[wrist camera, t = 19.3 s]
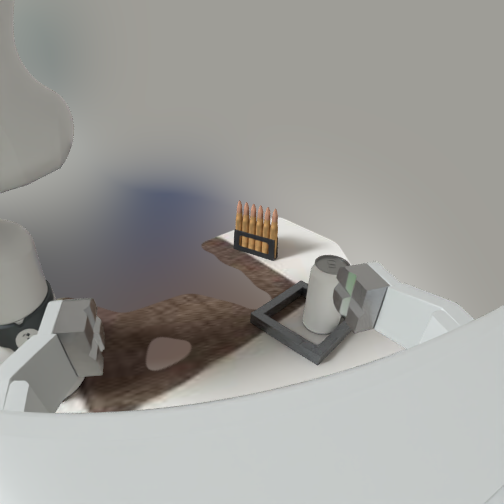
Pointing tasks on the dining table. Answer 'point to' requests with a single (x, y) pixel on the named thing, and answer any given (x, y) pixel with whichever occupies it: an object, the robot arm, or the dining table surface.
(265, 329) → the dark grey square frame
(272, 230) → the ammunition clip
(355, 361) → the dining table surface
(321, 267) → the can
